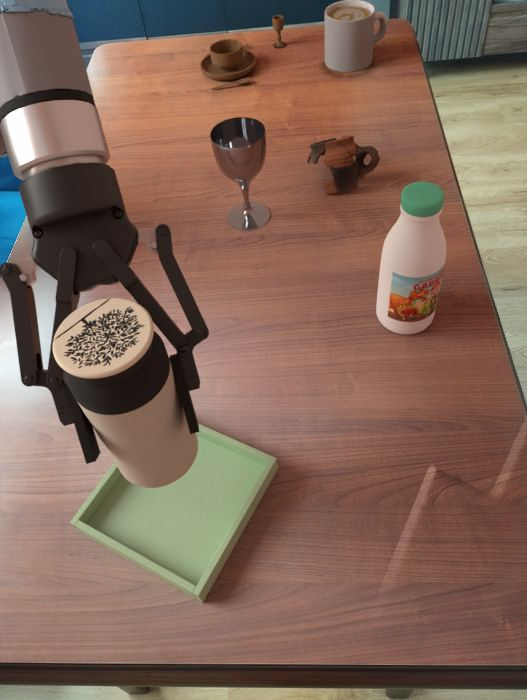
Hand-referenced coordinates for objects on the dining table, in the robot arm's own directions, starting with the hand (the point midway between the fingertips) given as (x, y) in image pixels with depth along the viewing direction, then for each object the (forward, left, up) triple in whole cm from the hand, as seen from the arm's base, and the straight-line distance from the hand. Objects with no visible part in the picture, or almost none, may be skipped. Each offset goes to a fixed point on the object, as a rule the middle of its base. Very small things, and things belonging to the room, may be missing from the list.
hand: (144, 443), depth 49 cm
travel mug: (-2, +2, -8) cm, 8 cm away
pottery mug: (-9, +63, -18) cm, 67 cm away
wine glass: (-19, +48, -18) cm, 55 cm away
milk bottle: (+11, +38, -18) cm, 44 cm away
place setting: (-44, +92, -18) cm, 104 cm away
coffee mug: (-23, +102, -18) cm, 107 cm away
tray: (-2, +2, -18) cm, 18 cm away
